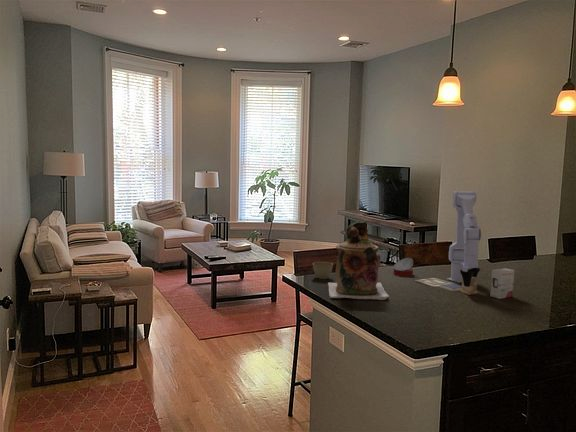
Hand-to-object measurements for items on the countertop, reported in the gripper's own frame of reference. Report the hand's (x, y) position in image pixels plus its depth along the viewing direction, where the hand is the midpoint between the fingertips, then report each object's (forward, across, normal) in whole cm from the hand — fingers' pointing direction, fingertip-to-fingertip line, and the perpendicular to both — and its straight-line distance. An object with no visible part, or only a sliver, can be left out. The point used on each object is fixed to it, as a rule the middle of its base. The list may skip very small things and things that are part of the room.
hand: (469, 285), depth 218 cm
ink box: (+4, -3, +13) cm, 14 cm away
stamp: (+3, 0, 0) cm, 3 cm away
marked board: (+3, -7, -19) cm, 20 cm away
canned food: (+4, -15, -39) cm, 42 cm away
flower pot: (+4, +20, -64) cm, 67 cm away
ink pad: (+3, -3, -8) cm, 9 cm away
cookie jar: (+4, +34, -37) cm, 50 cm away
